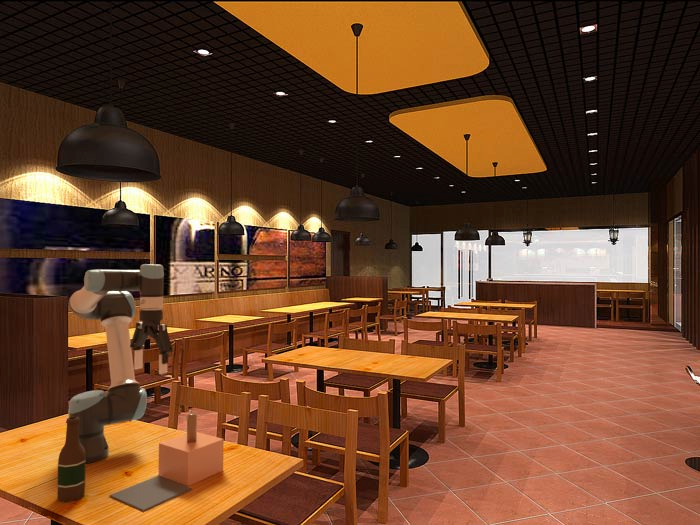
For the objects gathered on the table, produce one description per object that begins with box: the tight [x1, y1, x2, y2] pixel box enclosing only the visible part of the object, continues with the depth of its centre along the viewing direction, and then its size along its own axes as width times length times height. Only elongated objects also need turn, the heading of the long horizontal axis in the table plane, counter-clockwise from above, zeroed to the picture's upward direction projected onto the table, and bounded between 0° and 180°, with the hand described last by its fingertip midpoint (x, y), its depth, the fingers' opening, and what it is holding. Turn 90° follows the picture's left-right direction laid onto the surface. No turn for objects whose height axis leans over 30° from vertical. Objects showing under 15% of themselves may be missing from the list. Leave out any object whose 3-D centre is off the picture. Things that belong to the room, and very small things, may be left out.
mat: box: [109, 475, 193, 512], centre depth 152 cm, size 17×17×1 cm
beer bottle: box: [56, 417, 86, 503], centre depth 150 cm, size 8×8×24 cm
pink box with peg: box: [157, 412, 225, 487], centre depth 168 cm, size 15×15×20 cm
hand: (150, 371), depth 168 cm, fingers open, 13 cm apart
